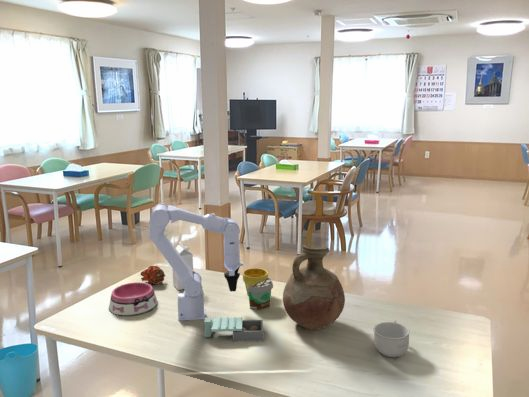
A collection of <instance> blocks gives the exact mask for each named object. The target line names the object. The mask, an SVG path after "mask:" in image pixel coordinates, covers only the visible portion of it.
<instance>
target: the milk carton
mask: <svg viewBox="0 0 529 397" xmlns="http://www.w3.org/2000/svg"><path fill="white" fill-rule="evenodd" d="M175 248H176V250H177V251H178V253H179V254H180V255H181V257H182V258H183V259H184V261H185V262H186V263H187V265H188V266H189V267H191V268H192V269H193V270H194V260H193V258H194V257H193V256H194V254H193V253H192V252H191V251H190V247H189V246H187V245H185V246H184V245H183V243H181V242H180V241H178V245H177V246H176V247H175ZM171 268H172V267H171ZM172 284H173V286H174V287H175V289H176V290H177V291H181V290H185V288H184V286H183V284H182V283H181V280H180V278H179V276H178V275H177V273H176V272H175V271H174V269H173V268H172Z"/></svg>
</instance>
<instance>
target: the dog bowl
mask: <svg viewBox="0 0 529 397" xmlns="http://www.w3.org/2000/svg"><path fill="white" fill-rule="evenodd" d="M158 303H159V302H158V299H157V296H156V293H155V289H154V288H153V286H152V284H148V282H147V283H146V282H139V281H138V282H129V283H124V284H121V285H119V286H117V287H115V288H114V289H113V290H112V291H111V294H110V300H109V304H108V305H109V306H108V312H109V313H111V314H112V313H113V314H112V315H114V314H115V316H117V315H118V317H134V316H141V315H144V314H147V313H149V312H151V311H154V309H156V308H157V306H158Z"/></svg>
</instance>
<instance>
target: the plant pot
mask: <svg viewBox="0 0 529 397" xmlns="http://www.w3.org/2000/svg"><path fill="white" fill-rule="evenodd" d="M266 277H268V278H269V272H268V271H267V270H266V269H265V268H259V267H251V268H247V269H245V270H243V272H242V281H243V283H244V285H245V291H246V294H247V296H248V297H249V292H247V290H248V286H250V287H252V286H254V285H255V284H257V283H258V282H262V281H264V280H266Z"/></svg>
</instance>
